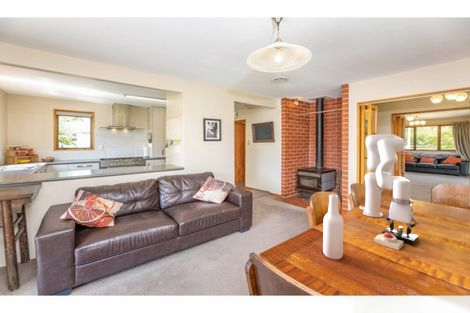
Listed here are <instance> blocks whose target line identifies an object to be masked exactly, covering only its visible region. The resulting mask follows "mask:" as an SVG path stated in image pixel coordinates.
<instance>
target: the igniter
mask: <svg viewBox="0 0 470 313" xmlns="http://www.w3.org/2000/svg"><path fill="white" fill-rule="evenodd" d="M373 242H374V243H375V244H379V245H382V246H384V247H388V248H391V249H394V250H397V251H400V250H401V249H402V247H403V246H404V243H403V241H401V240H397V239H396V237H395V236H393V238H387V237H385V236H384V234H382V233H378V234H377V235H376V236H375V237H374V238H373Z"/></svg>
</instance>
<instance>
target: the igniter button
mask: <svg viewBox="0 0 470 313" xmlns="http://www.w3.org/2000/svg"><path fill="white" fill-rule="evenodd" d="M384 236H385V237H387V238H393V234H391V233H385V234H384Z"/></svg>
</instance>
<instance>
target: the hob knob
mask: <svg viewBox="0 0 470 313" xmlns="http://www.w3.org/2000/svg"><path fill="white" fill-rule="evenodd" d="M396 229H397V234H399V235H401V234H402V233H403V231H404V226H402V225H399V226H397V227H396Z"/></svg>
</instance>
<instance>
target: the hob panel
mask: <svg viewBox="0 0 470 313" xmlns="http://www.w3.org/2000/svg"><path fill="white" fill-rule="evenodd" d="M385 233H391V234H393V236H395V237H396V239H397V240H401V241H403V245H408V246H412V247H414V246H415V245H416V244H417V243H418V241H419V234H415V233H412V232H411V234H409V235H407V231H404V230H403V233H402V234H401V235H399V234H397V228H394V229H393V230H392V231H391V230H390V226H387V227H386V228H385V229H383V230H382V231H381V234H385Z"/></svg>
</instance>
